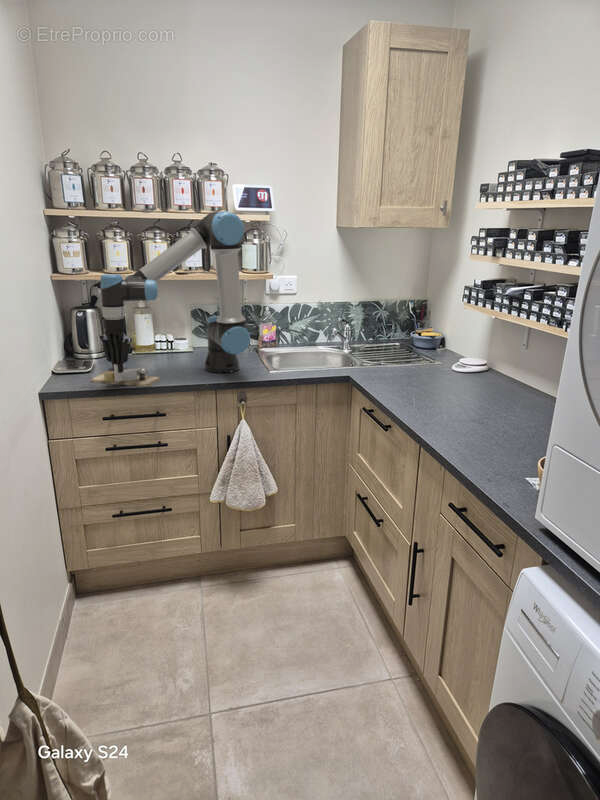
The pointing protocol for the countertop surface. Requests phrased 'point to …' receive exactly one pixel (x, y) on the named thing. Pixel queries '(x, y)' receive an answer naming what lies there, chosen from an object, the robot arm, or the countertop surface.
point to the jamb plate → (143, 381)
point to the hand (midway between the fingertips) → (118, 380)
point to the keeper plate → (101, 380)
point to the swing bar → (125, 374)
